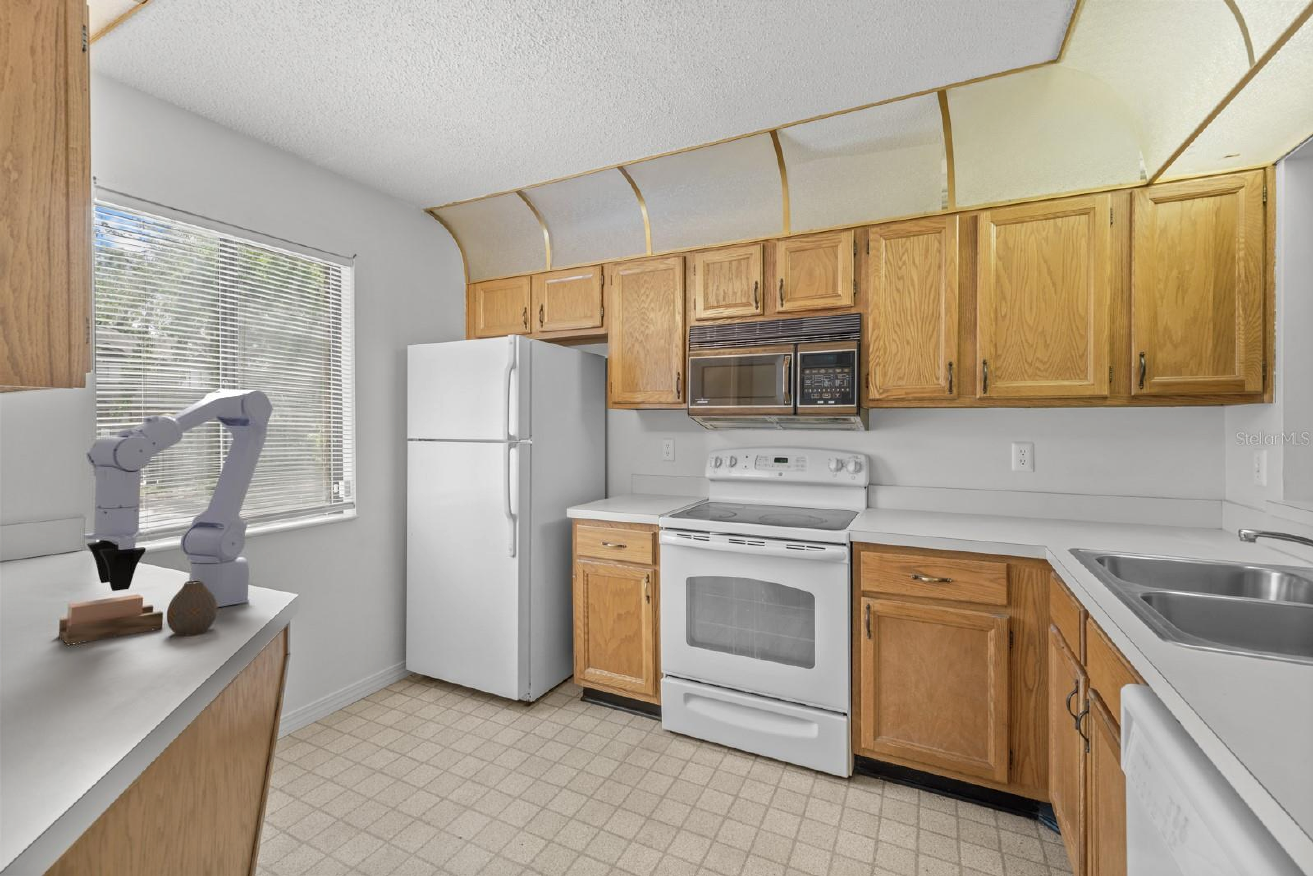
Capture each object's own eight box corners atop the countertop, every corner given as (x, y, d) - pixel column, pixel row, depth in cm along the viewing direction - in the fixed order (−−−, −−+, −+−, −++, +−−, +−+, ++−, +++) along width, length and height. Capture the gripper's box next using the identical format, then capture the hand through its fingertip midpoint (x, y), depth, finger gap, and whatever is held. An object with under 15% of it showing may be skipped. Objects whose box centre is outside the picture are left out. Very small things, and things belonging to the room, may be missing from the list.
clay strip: (137, 619, 106) (138, 594, 106) (141, 623, 104) (143, 597, 104) (66, 631, 99) (68, 604, 99) (70, 635, 97) (71, 607, 97)
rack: (150, 620, 109) (151, 604, 109) (162, 628, 105) (163, 612, 105) (58, 635, 100) (59, 618, 100) (67, 645, 95) (68, 627, 95)
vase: (220, 632, 104) (222, 582, 104) (169, 641, 99) (172, 588, 99) (211, 623, 109) (213, 575, 109) (162, 631, 104) (165, 580, 104)
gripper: (76, 504, 104) (73, 582, 104) (96, 512, 95) (92, 598, 95) (129, 501, 109) (126, 575, 109) (152, 509, 101) (149, 590, 101)
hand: (114, 585), depth 103 cm, fingers open, 7 cm apart
